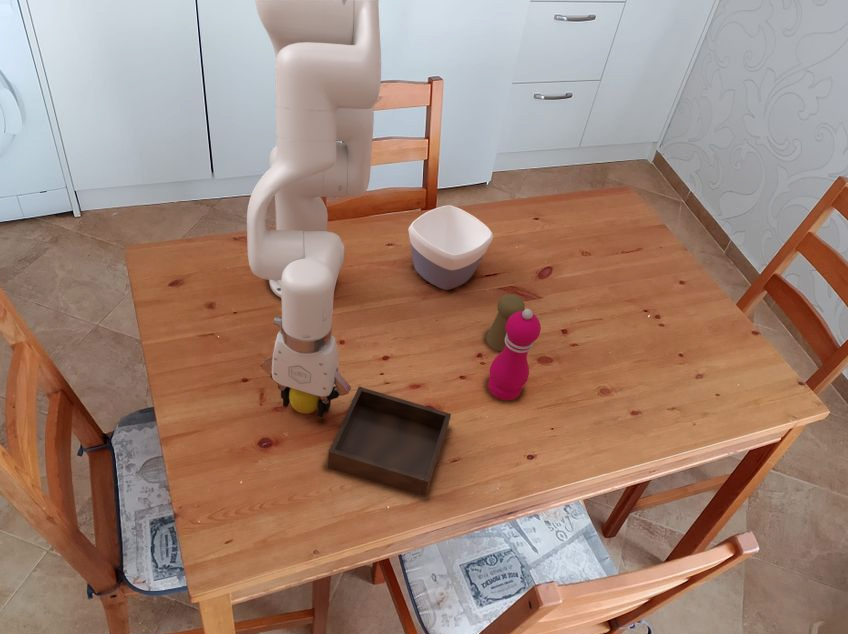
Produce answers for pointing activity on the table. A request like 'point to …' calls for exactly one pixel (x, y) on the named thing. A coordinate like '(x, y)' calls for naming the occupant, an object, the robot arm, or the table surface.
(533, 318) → the pepper mill
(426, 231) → the bowl
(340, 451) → the dark wooden tray
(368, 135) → the robot arm
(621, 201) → the table surface
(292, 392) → the lemon
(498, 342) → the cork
